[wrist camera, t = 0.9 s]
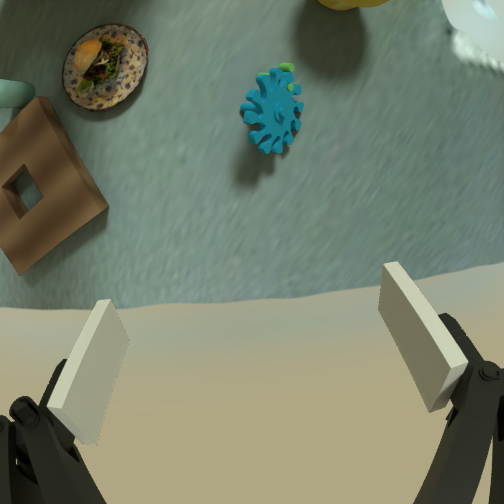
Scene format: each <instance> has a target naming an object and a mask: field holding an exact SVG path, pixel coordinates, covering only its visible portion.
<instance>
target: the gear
mask: <svg viewBox="0 0 504 504" xmlns="http://www.w3.org/2000/svg"><path fill="white" fill-rule="evenodd" d="M279 68H280V69H278V68H271V69H270V73H258V76H257V77H256V82H257V83H258V85H259V87H260V91H259V90H257V89H250V90H249V92H248V93H247V95H246V99H247V100H248V101H250V102H252V103H253V104H246V103H243V104H242V105H241V107H240V108H241V111H244V112H245V113H244V120H243V122H244V123H248V124H254V123H256V122H257V123H258V124H259V126H260V128H259V131H249V133H248V138H249V142H250V143H255V144H257V143H259V142H260V140H261V139H262V137H263V136H265V135H266V139H265V141H263V142H260V143H259V145H258V150H259V151H260V152H261V153H264V154H269V153H270V151H271V152H275V153H282V150H283V146H282V144H285V145H290V144H291V143H292V142H293V141H294V138H293V136H292V134H291V129H292V130H297V131H298V130H299V128H300V126H301V121H300V120H298V119H296V117H295V115H294V111H295V112H302V111H303V106H304V103H303V102H297V101H295V102H294V101H293V99H292V96H293V95H300V94H301V87H300V85H297V84H292V82H293V81H294V76H293V74H292V73H291V72H293V70H294V65H293V64H292V63H281V64H280V66H279ZM260 92H261V96H260ZM256 113H257V114H256ZM274 140H275V141H274ZM273 141H274V142H273ZM272 143H273V144H272Z"/></svg>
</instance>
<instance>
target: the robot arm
mask: <svg viewBox="0 0 504 504" xmlns="http://www.w3.org/2000/svg"><path fill="white" fill-rule="evenodd" d="M378 310H379V312H380V314H381V316H382V318H383V320H384V321H385V323H386V325H387V327H388V329H389V331H390V333H391V335H392V337H393V339H394V341H395V343H396V345H397V346H398V348H399V351H400V353H401V355H402V357H403V359H404V361H405V362H406V364H407V366H408V369H409V371H410V373H411V375H412V377H413V379H414V381H415V383H416V385H417V387H418V390H419V392H420V394H421V396H422V398H423V400H424V403H425V405H426V407H427V409H428V412H429V413H431V412H433V411H436V410H439V409H442V408H444V407H446V405H447V403H448V401H449V399H451V401H452V403H453V405H454V406H453V407H452V409H451V411H450V412H449V414H448V416H447V417H446V420H448V421H447V424H446V427H445V430H444V433H443V436H442V439H441V441H440V444H439V447H438V449H437V452H436V454H435V457H434V459H433V462H432V464H431V467H430V469H429V472H428V474H427V476H426V478H425V480H424V482H423V485H422V487H421V489H420V491H419V493H418V495H417V497H416V499H415V501H414V503H413V504H472V501H473V499H474V496H475V493H476V490H477V487H478V485H479V482H480V478H481V475H482V472H483V469H484V466H485V462H486V459H487V455H488V451H489V447H490V443H491V439H492V435H493V451H492V452H493V453H492V454H493V455H492V473H491V486H490V496H489V504H504V368H503V369H501V368H500V367H498V366H497V365H496V364H495V363H493V362H491V361H484V360H483V358H482V357H481V355H480V354H479V352H478V351H477V349H476V348H475V347H474V345H473V343H472V342H471V340H470V339H469V338H468V336H466V333H465V332H464V331H463V329H461V327H460V325H459V324H458V322H457V321H456V319H454V318H453V317H451V316H450V315H449V314H447V313H444V314H440V315H437V314H436V312H435V311H434V310H433V308H432V307H431V305H430V304H429V303H428V301H427V300H426V299H425V297H424V296H423V294H422V293H421V292H420V290H419V289H418V288H417V286H416V285H415V284H414V282H413V281H412V280H411V278H410V277H409V276H408V275H407V273H406V272H405V271H404V269H403V268H402V267H401V266H400V264H399V263H398V262H391V263H385V264H383V270H382V280H381V289H380V298H379V306H378ZM129 341H130V339H129V337H128V335H127V333H126V331H125V329H124V327H123V325H122V323H121V321H120V318H119V316H118V314H117V312H116V310H115V307H114V305H113V303H112V301H111V299H107V300H98V301H97V303H96V305H95V307H94V309H93V311H92V313H91V314H90V316H89V318H88V320H87V322H86V324H85V326H84V328H83V330H82V331H81V334H80V336H79V337H78V340H77V341H76V343H75V345H74V347H73V349H72V351H71V353H70V356H69V358H68V359H63V360H62V361H61V362H60V363H59V365H58V366H57V367H56V369H55V371H54V373H53V375H52V377H51V379H50V381H49V384H48V385H47V388H46V390H45V392H44V394H43V397H42V399H41V401H40V404H39V406H37V404H36V403H35V402H34V401H33V400H32V399H31V398H30V397H28V396H22V397H19V398H18V399H16V401H14V402H13V404H12V405H11V407H10V410H9V415H10V416H11V417H12V418H13V419H14V420H15V421H14V422H11V421H10V420H9V419H8V418H7V417H6V416H3V415H0V504H106V502H105V500H104V499H103V497H102V495H101V493H100V491H99V490H98V488H97V486H96V484H95V483H94V481H93V479H92V477H91V475H90V473H89V471H88V469H87V467H86V465H85V463H84V461H83V459H82V457H81V455H80V453H79V451H78V449H77V447H76V446H75V444H74V443H73V442H74V439H75V437H76V438H77V439H78V440H79V441H80V442H81V443H82V444H86V445H93V446H97V443H98V440H99V436H100V432H101V429H102V425H103V421H104V418H105V415H106V411H107V408H108V404H109V401H110V398H111V395H112V392H113V389H114V385H115V382H116V379H117V376H118V373H119V369H120V367H121V364H122V361H123V358H124V355H125V352H126V349H127V346H128V343H129ZM16 459H17V465H16Z"/></svg>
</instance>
